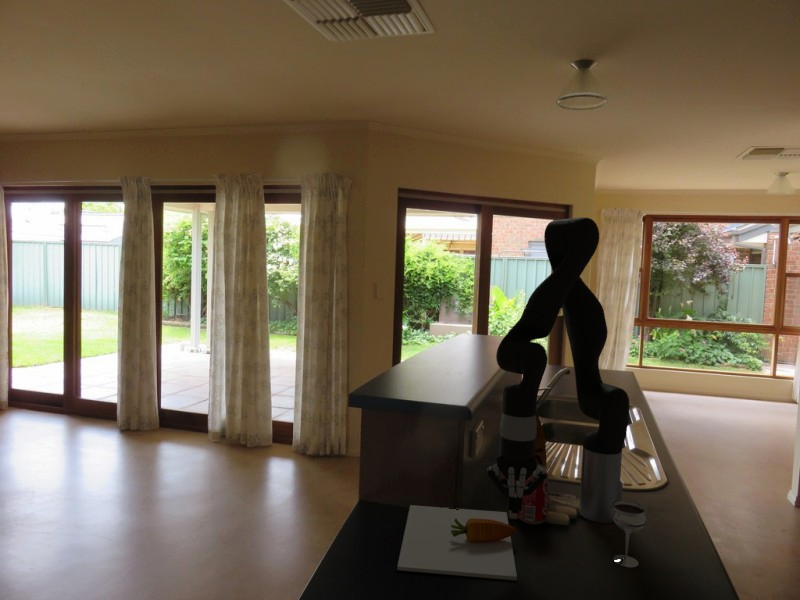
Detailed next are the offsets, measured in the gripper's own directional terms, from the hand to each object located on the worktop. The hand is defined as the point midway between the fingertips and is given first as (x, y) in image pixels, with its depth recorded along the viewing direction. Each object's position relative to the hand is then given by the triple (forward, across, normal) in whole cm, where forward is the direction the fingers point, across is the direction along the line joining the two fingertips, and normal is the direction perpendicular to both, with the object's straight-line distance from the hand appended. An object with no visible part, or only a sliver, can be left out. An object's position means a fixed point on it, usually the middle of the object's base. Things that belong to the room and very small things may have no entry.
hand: (514, 511), depth 123 cm
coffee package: (+10, -6, -38) cm, 40 cm away
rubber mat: (+10, +12, -4) cm, 16 cm away
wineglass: (+10, -24, -1) cm, 26 cm away
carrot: (+7, -1, -5) cm, 8 cm away
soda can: (+10, -6, -17) cm, 20 cm away
